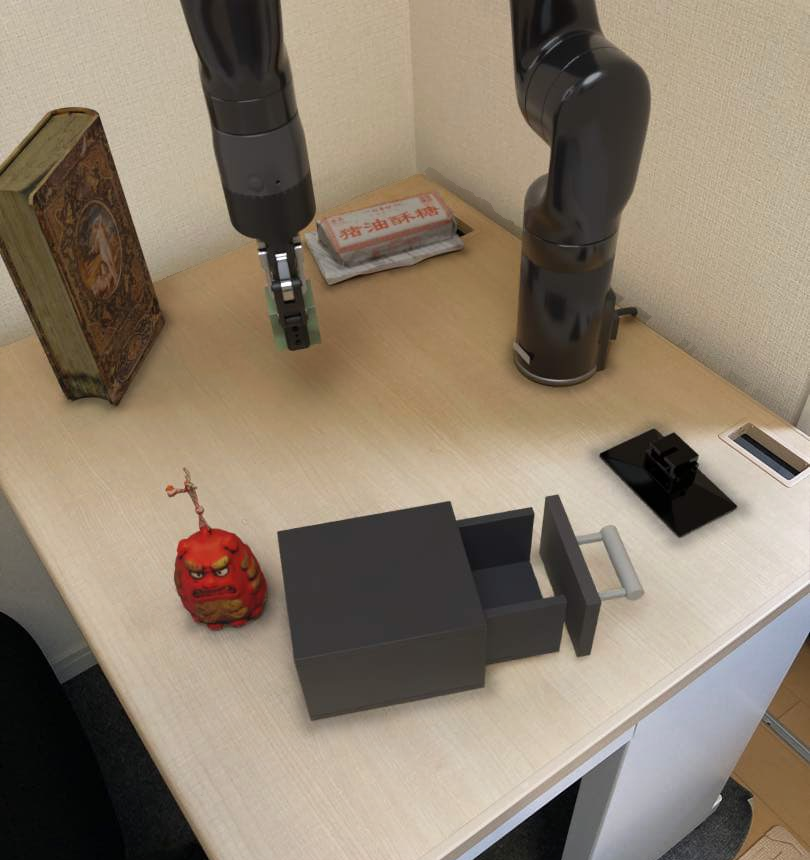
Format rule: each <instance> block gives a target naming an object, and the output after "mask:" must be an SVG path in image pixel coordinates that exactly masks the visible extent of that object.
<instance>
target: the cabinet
mask: <svg viewBox="0 0 810 860" xmlns="http://www.w3.org/2000/svg"><path fill="white" fill-rule="evenodd" d="M456 520H457V518H456V515H455V512H454V508H453V505H452V501H451V500H446V501H441V502H436V503H430V504H424V505H418V506H413V507H407V508H403V509H395V510H391V511H385V512H379V513H374V514H373V513H372V514H368V515H362V516H361V515H360V516H356V517H351V518H345V519H339V520H334V521H328V522H323V523H317V524H311V525H306V526H305V525H304V526H300V527H294V528H288V529H283V530H278V531H277V532H276V534H277V542H278V549H279V550H278V551H279V557H280V565H281V566H280V567H281V573H282V580H283V587H284V596H285V604H286V611H287V617H288V618H287V620H288V625H289V632H290V634H289V635H290V641H291V649H292V655H293V662H294V665H295V669H296V674H297V676H298V677H297V678H298V680H299V684H300V687H301V691H302V696H303V699H304V702H305V706H306V709H307V714H308V717H309V720H310V721H311V722H315V721H319V720H324V719H329V718H334V717H339V716H344V715H345V716H346V715H350V714H354V713H360V712H365V711H370V710H375V709H380V708H385V707H391V706H396V705H400V704H406V703H411V702H415V701H416V702H417V701H421V700H428V699H431V698H432V699H433V698H437V697H443V696H447V695H452V694H457V693H463V692H468V691H473V690H478V689H483V688H485V684H486V683H485V681H486V666H485V662H486V638H487V622H486V619H485V615H484V612H483V609H482V605H481V602H480V599H479V595H478V592H477V588H476V585H475V582H474V578H473V575H472V572H471V568H470V565H469V562H468V558H467V555H466V551H465V548H464V545H463V541H462V538H461V535H460V531H459V528H458V524H457V521H456Z"/></svg>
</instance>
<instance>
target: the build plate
mask: <svg viewBox="0 0 810 860" xmlns="http://www.w3.org/2000/svg"><path fill="white" fill-rule="evenodd" d="M699 457H700V455H699V453H697V452H696V450H694V449H693V448H692V447H691V446H690V445H689V444H688V442H687V443H686V441H684V440H683V439H682V438H681V436H679V435H678V433H676V432H671V433H669V434H666V435H664V434H663V433H662V432H660V431H659V430H658V429H656V428H651V429H649V430H647V431H645V432H643V433H641V434H639V435H636V436H634V437H632V438H630V439H627V440H626V441H623V442H621V443H619V444H617V445H614V446H613V447H611V448H608V449H606V450H604V451H602V452H600V453H599V458H600V460H601V461H603V463H604V464H605V465H606V466H607V467H609V469H611V471H612V472H613V473H614V474H615V475H616V476H617V477H618V478H619V479H620V480H621V481H622V482H623V483H624V484H625V485H626V486H627V487H628V488H629V489H630V490H631V491H632V492H633V494H635V495H636V496H637V497H638V498H639V500H640V501H641V502H643V504H645V506H646V507H648V509H649V510H650V511H651V512H652V513H653V514H654V515H655V516H656V517H657V518H658V519H659V520H660V521H661V523H663V524H664V525H665V526H666V527H667V528H668V529H669V530H670V531H671V532H672V533H673V535H675V537H677V538H678V539H682V538H683V537H685V536H687V535H689V534H691V533H693V532H695V531H697V530H699V529H701V528H703V527H705V526H707V525H709V524H711V523H713V522H715V521H717V520H719V519H720V518H723V517H724V516H726V515H729V514H731V513H733V512H734V511H736V510H737V509H738V505H737V504H736V503H735V502H734V501H733V500H732V498H730V497H729V496H728V495H727V494H725V492H724V491H722V490H721V489H720V488H719V486H717V485H716V484H715V483H714V482H713V481H712V480H711V479H710V478H708V476H706V475H705V474H704V473H703V472H702V471H701V470H700V469H699V467H700V463H699V462H698V461H699Z"/></svg>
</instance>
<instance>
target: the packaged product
mask: <svg viewBox="0 0 810 860" xmlns="http://www.w3.org/2000/svg"><path fill="white" fill-rule="evenodd" d="M315 225H316V230H313V231H308V232H305V233H304V234H303V236H304V238H305V241H306V245H307V247H308V248H309V251H310V252H311V255H312V256H313V258H314V260H315V262H316V265H317V266H318V268H319V271H320V273H321V274H322V276H323V278H324V279H325V281H326V282H327V284H328V286H331V285H334V284H337V283H339V282H342V281H345V280H347V279H350V278H353V277H356V276H359V275H367V274H372V273H373V274H374V273H378V272H381V271H386V270H390V269H394V268H400V267H408V266H414V265H415V264H417V263H420V262H421V261H423V260H426V259H428V258H432V257H435V256H438V255H441V254H446V253H449V252H454V251H459V250H463V249H464V246H465V243H464V241H463V240H462V239H461V237H460V236H459V235H458V234H457V230H458V223H457V220H456V219H455V216H454V212H453V211H452V209H451V207H450V206H449V205H447V203H446V202H445V200H444V197H443V196H442V195H441V192H439V190H432V191H428V192H421V193H418V194H414V195H411V196H406V197H402V198H397V199H394V200H391V201H390V200H389V201H385V202H381V203H378V204H374V205H370V206H366V207H362V208H357V209H355V210H354V209H353V210H350V211H348V212H342V213H338V214H334V215H329V216H326V217H322V218H319V219H318V220H317V221H316V222H315Z"/></svg>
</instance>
